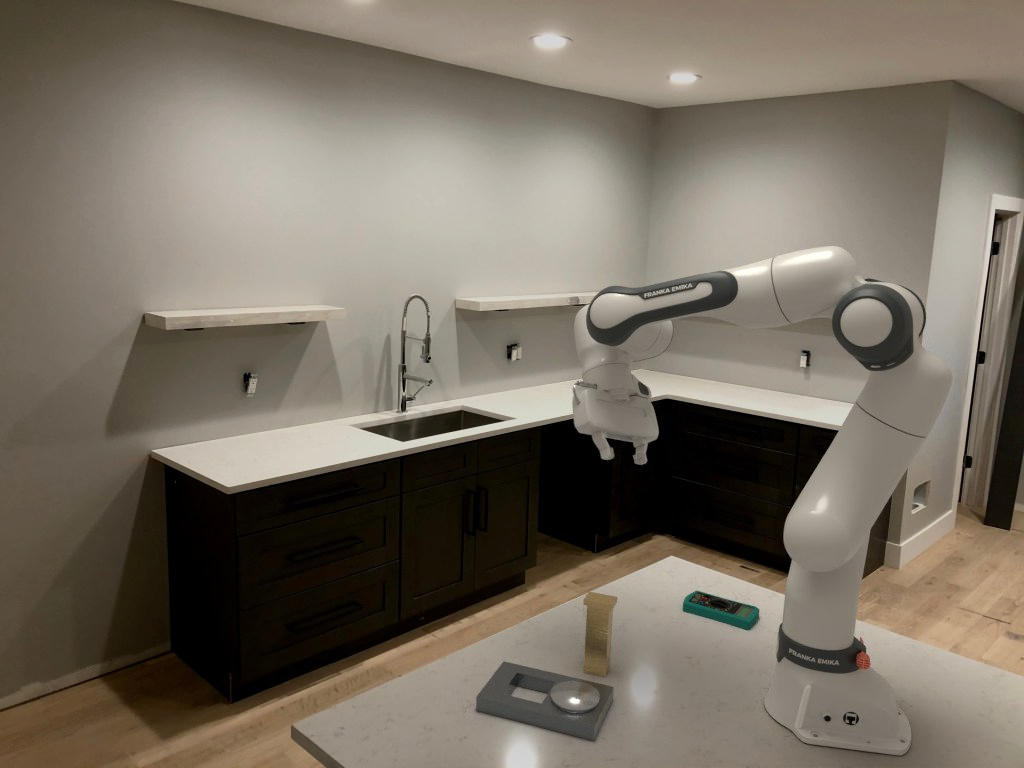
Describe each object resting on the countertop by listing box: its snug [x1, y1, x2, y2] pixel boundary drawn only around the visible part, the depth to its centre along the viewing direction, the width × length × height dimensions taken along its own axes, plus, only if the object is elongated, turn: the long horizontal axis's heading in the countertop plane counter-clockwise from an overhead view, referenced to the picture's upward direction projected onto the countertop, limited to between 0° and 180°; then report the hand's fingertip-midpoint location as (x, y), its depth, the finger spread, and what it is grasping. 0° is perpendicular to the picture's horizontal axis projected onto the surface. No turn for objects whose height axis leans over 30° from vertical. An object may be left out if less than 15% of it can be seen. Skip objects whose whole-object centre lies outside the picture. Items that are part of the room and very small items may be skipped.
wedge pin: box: [582, 591, 618, 678], centre depth 143 cm, size 5×4×14 cm
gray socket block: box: [475, 660, 615, 742], centre depth 133 cm, size 20×12×3 cm, turn 69°
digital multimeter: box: [682, 590, 760, 631], centre depth 167 cm, size 7×15×3 cm, turn 57°
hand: (625, 461), depth 139 cm, fingers open, 8 cm apart
